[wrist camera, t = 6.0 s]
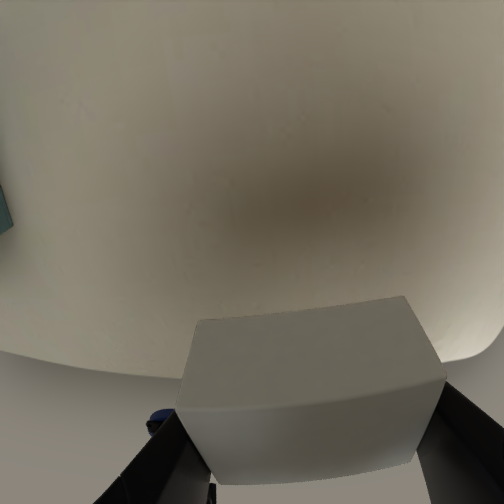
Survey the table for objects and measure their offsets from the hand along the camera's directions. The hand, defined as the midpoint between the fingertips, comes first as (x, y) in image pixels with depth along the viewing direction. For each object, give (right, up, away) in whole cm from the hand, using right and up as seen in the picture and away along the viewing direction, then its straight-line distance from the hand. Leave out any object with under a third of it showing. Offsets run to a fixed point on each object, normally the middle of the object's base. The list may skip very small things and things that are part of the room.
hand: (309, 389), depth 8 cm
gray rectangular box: (0, 0, +1) cm, 1 cm away
